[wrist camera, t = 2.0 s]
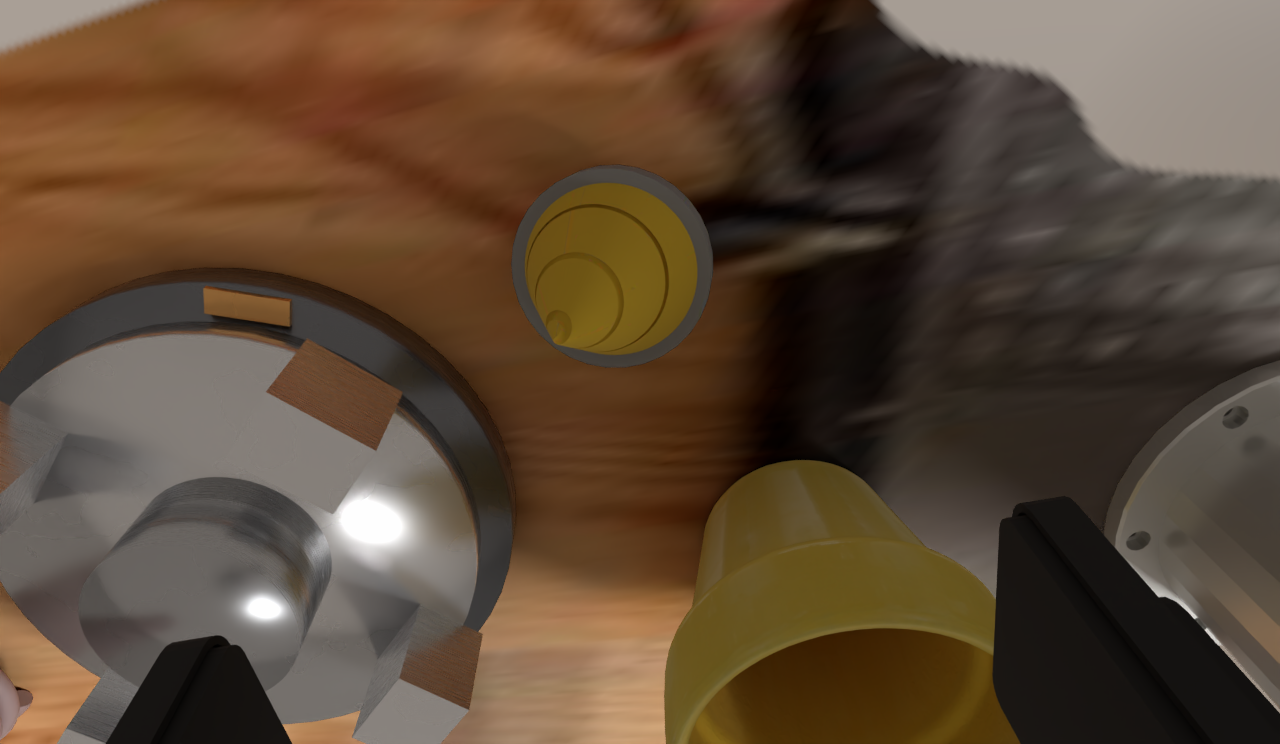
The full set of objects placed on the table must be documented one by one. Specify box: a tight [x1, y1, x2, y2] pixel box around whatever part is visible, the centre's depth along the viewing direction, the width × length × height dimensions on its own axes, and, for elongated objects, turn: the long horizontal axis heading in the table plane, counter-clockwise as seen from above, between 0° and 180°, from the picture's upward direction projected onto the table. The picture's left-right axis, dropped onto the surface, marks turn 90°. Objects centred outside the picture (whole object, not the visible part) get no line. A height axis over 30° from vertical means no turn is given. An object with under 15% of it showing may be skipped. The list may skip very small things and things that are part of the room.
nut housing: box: [0, 268, 516, 632], centre depth 28 cm, size 17×17×2 cm
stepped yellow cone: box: [511, 165, 713, 367], centre depth 21 cm, size 5×5×10 cm
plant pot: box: [664, 460, 1021, 744], centre depth 26 cm, size 10×10×10 cm
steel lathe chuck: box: [0, 321, 483, 744], centre depth 26 cm, size 15×15×4 cm
